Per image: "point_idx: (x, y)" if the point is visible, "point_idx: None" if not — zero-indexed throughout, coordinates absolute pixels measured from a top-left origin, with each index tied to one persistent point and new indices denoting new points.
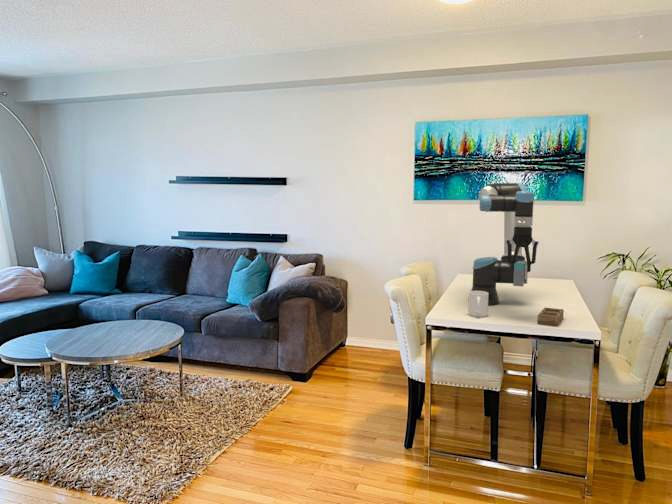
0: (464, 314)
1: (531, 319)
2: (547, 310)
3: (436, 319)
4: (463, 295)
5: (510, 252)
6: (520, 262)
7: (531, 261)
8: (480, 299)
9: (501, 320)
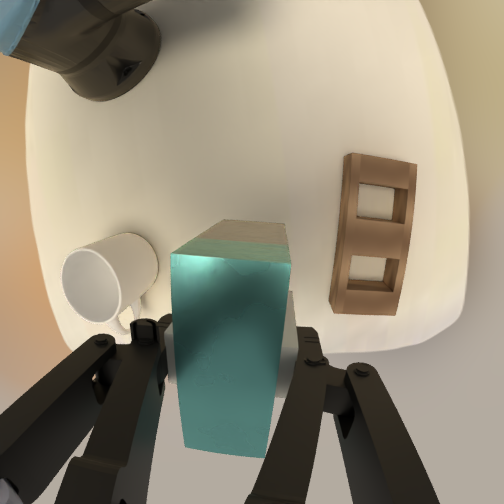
0: None
1: (306, 239)
2: (362, 182)
3: None
4: None
5: (78, 443)
6: (219, 396)
7: (334, 412)
8: (118, 319)
9: None
